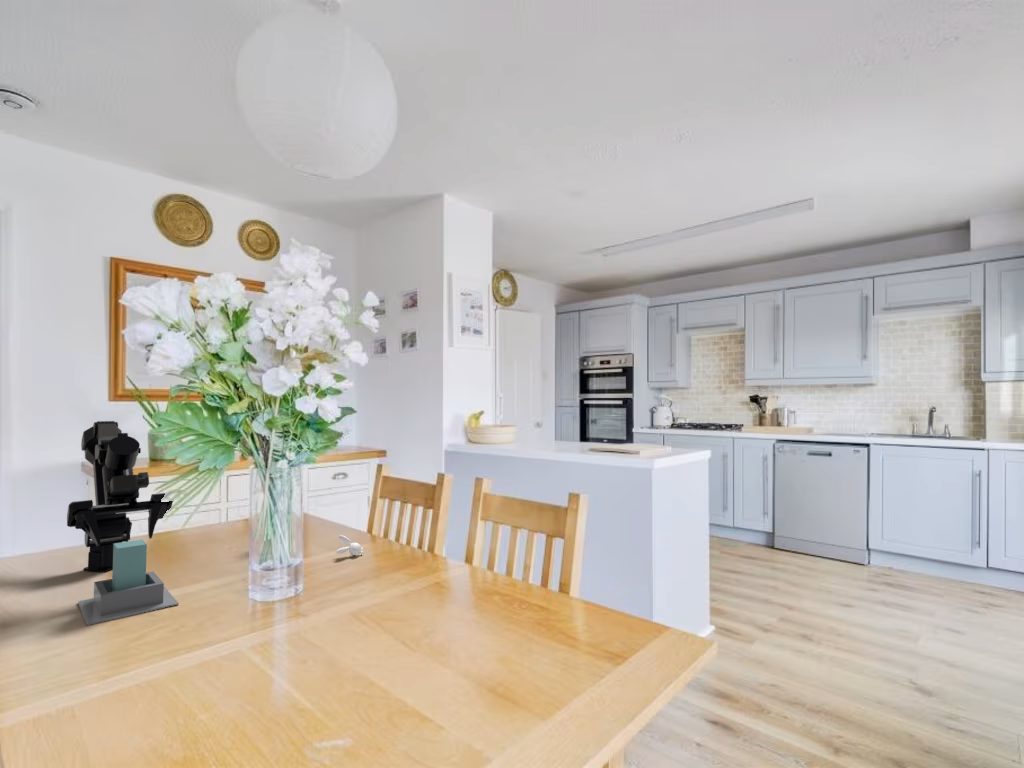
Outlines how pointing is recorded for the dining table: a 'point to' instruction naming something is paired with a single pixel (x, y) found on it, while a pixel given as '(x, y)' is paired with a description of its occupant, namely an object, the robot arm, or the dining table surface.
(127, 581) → the teal block
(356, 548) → the rabbit figurine
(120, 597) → the well
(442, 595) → the dining table surface
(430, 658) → the dining table surface
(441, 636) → the dining table surface
